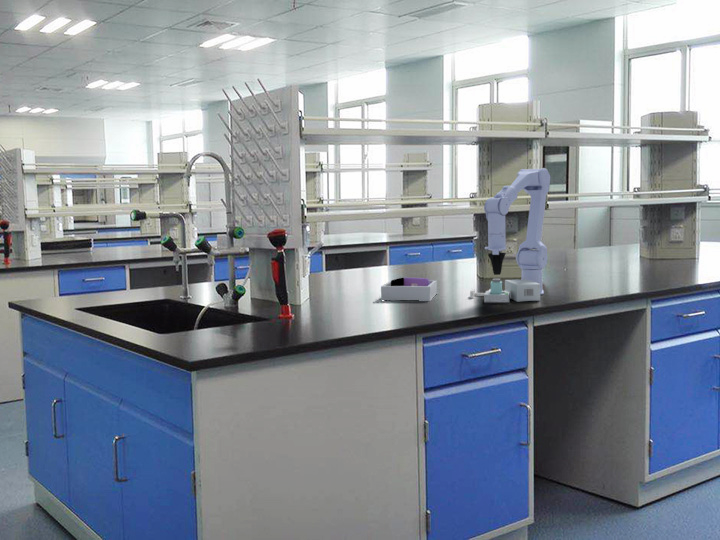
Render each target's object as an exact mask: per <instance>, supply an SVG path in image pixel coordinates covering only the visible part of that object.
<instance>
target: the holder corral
mask: <svg viewBox="0 0 720 540" xmlns="http://www.w3.org/2000/svg"><path fill="white" fill-rule="evenodd" d="M391 281H392V280H389V281H388V282H386V283H384V284H383V285H381V286H380V296H381V297H380V299H381V300H419V301H418V302H431V301H433V299H434V298H435V297H436V296H437V295H438V284H437V283H438V281H437V280H429V285H428V286H416V285H414V286H391ZM436 294H437V295H436ZM435 295H436V296H435ZM434 296H435V297H434ZM433 297H434V298H433ZM432 298H433V299H432Z"/></svg>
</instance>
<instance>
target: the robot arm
mask: <svg viewBox="0 0 720 540" xmlns="http://www.w3.org/2000/svg"><path fill="white" fill-rule="evenodd" d="M550 183H551V175H550V172H549V170H548V169H547V168H545V167H542V168H522V169H520V170H519V171H517V174H516V178H515V180H514V181H513V182H512V183H511V184H510V185H504V186H502V189H501V190H500V191H498V192H497V193H496V194H495V195H494V196H493V197H489V198H488V199H486V201H485V202H484V206H483V210H484V213H485V218H486V220H487V239H488V241H487V244H488V245H487V246H485V247H484V250H488V251H491V252H492V253H488V254H487V256H488V258H489V259H490V263H491V267H492V273H493V276H494V275H496V276H497V275H501V273H502V268H503V262H504V259H505V257H506V255H507V253H506V252H502V251H504V250H505V251H506V250H507V247H506V245H507V243H506V237H507V236H506V235H507V233H506V215H507V214H508V212H509V210H510V207H511V205H512V204H513V203H514V202H515V201H516V200H517V199H518V193H519V192H521V191H522V190H523V191H524V192H525V194H527V195H529V196H530V201H529V202H530V203H529V204H530V205H529V211H528V218H527V227H526V237H525V240H524V241H523V242H522V243H520V244H519V247H518V251H517V253H516V255H515V261H516V263H517V265H518V267H519V269H521V280H522V279H528V280H530V281H533V282H536V283H539V284H540V295H544V289H543V269H545V267H546V265H547V263H548V257H549V256H548V247H547V246H546V245H545V244H544V243H543V242H542V235H543V227H544V226H543V225H544V216H545V209H546V203H547V202H546V200H547V194H548V193H549V192H550Z"/></svg>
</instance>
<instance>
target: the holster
mask: <svg viewBox="0 0 720 540" xmlns="http://www.w3.org/2000/svg"><path fill="white" fill-rule="evenodd" d="M475 291H476V289H475V288H471V289H470V292H469V298H470V299H474V297H484V294H485V292H475ZM488 291H491V288H489V289H488Z"/></svg>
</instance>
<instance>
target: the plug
mask: <svg viewBox="0 0 720 540" xmlns="http://www.w3.org/2000/svg"><path fill="white" fill-rule="evenodd" d="M490 289H491V294H502V291H503V281H502V280H501V278H492V280H491V281H490Z"/></svg>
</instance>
